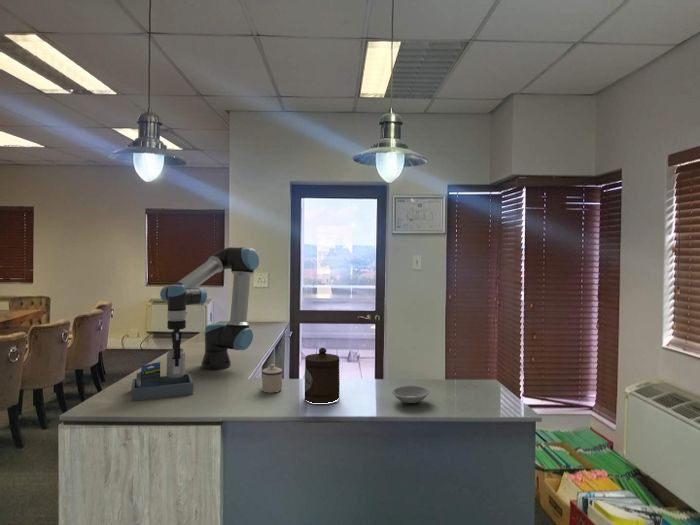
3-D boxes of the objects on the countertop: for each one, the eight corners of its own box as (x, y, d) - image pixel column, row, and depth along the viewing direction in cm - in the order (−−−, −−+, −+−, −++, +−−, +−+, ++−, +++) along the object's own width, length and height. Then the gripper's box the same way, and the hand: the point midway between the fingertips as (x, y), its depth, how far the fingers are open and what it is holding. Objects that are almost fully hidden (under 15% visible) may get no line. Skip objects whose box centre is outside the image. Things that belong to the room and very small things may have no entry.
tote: (190, 384, 203) (190, 373, 203) (193, 394, 188) (193, 383, 188) (132, 390, 193) (132, 378, 193) (131, 401, 178) (131, 389, 178)
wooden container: (306, 393, 193) (307, 344, 192) (340, 394, 192) (341, 344, 192) (302, 405, 178) (302, 351, 177) (338, 406, 177) (339, 352, 177)
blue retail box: (155, 388, 193) (155, 360, 193) (160, 389, 191) (160, 361, 191) (136, 393, 186) (136, 364, 185) (141, 394, 183) (141, 365, 183)
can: (188, 374, 195) (188, 348, 195) (178, 379, 188) (178, 351, 188) (173, 373, 197) (173, 347, 197) (163, 378, 190) (163, 350, 189)
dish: (410, 394, 194) (410, 383, 193) (437, 402, 183) (437, 391, 183) (383, 403, 181) (384, 391, 181) (411, 413, 171) (411, 400, 171)
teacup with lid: (286, 390, 196) (286, 364, 196) (269, 395, 189) (269, 368, 189) (270, 384, 204) (271, 360, 204) (254, 388, 198) (254, 363, 198)
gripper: (187, 322, 185) (186, 376, 185) (184, 316, 203) (183, 365, 203) (168, 323, 181) (167, 378, 182) (166, 316, 200) (166, 366, 200)
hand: (175, 371), depth 193 cm, fingers closed on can, 7 cm apart
